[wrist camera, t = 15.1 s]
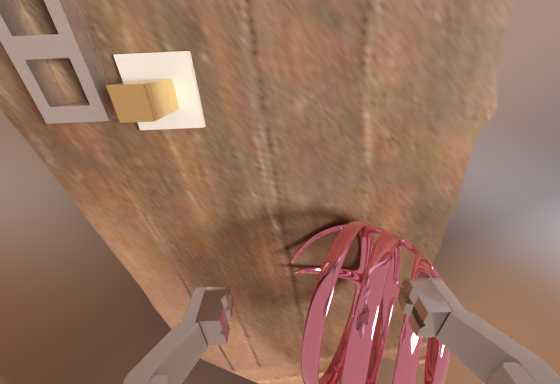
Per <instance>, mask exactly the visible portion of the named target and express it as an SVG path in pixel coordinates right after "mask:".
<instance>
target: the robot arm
mask: <svg viewBox="0 0 560 384" xmlns="http://www.w3.org/2000/svg"><path fill="white" fill-rule="evenodd" d="M402 285H403V287H404V288H402V289H401V290H400V291H399V295H398V298H399V303H400V306H401V308H402V311H403V312H404V313H405V314H406V315H408V316H409V320H408V322H409V324H410V326H411V328H412V330H413V332H414V334H415V336H416V337H436V339H437V340H438V341H440V342H441V343H442V344H443V345H444V346H445V347H446V348H447V349H448V350H449V351H450V352H451V353H452V354H453V355H455V356H456V357H457V358H458V359H459V360H460V361H461V362H462V363H463V364H464V365H465V366H466V367H467V368H469V369H470V370H471V371H472V372H473V373H474V374H475V375H476V376H477V377H478V378H479V379H480V380H481V381H482V382H484V384H560V378H559V376H558V375H557V374H556V373H555V372H554V371H553V370H552V368H551V367H550V366H549V365H548V364H547V363H546V362H545V361H544V360H543V359H542V358H540V357H539V356H537V355H535V354H534V353H532V352H531V351H529V350H528V349H526V348H525V347H523V346H522V345H520V344H519V343H517V342H515V341H514V340H512V339H511V338H509V337H508V336H506V335H505V334H503V333H502V332H500V331H499V330H497V329H496V328H494V327H493V326H491V325H489V324H488V323H487V322H485V321H483V320H482V319H480V318H479V317H477V316H476V315H474V314H473V313H471V312H466V310H465V309H464V308H463V307H462V305H461V304H460V303H459V301H458V300H457V299H456V297H455V296H454V295H453V294H452V292H451V291H450V290H449V288H448V287H447V286H446V285H445V283H444V282H443V280H441V279H440V278H418V279H405V280H404V281H403V283H402ZM229 295H230V289H229V287H196V288H195V290H194V291H193V294H192V297H191V299H190V302H189V305H188V308H187V310H186V313H185V316H184V319H183V321H182V323H178V324H177V325H176V326H175V327H174V328H173V329H172V330H171V331H170V332H169V333H168V334H167V335H166V336H165V337H164V338H163V339H162V340H161V341H160V342H159V343H158V344H157V345H156V346H155V347H154V348H153V349H152V350H151V351H150V352H149V353H148V354H147V355H146V357H144V358H143V360H142V361H140V363H138V364H137V365H136V366H135V367H134V369H132V371H131V372H130V373H129V374H128V375H127V376H126V378H125V381H124V383H123V384H182V382H183V381H184V380H185V378H186V377H187V376H188V374H189V373H190V371H191V370H192V368H193V367H194V365H195V364H196V363H197V361H198V360H199V359H200V357H201V356H202V354H203V353H204V351H205V350H206V349H207V347H208V346H209V345H223V344H227V340H228V335H229V329H230V328H229V324H228V322H229V321H230V320H231V318H232V310H233V301H232V297H231V296H229Z"/></svg>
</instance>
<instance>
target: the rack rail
mask: <svg viewBox="0 0 560 384" xmlns="http://www.w3.org/2000/svg"><path fill="white" fill-rule="evenodd" d="M44 2H45V4H46V6H47V9H48V11H49V13H50V15H51V18H52V20H53V22H54V24H55V27H56V29H57V31H58V33H59V34H51V35H34V34H33V32H32V30H31V28H30V26H29V24H28V22H27V20H26V18H25V16H24V14H23V12H22V10H21V8H20V6H19V4H18V1H17V0H0V41H1V43H2V45H3V46H4V48H5V50H6V52H7V54H8V55H9V57H10V59H11V61H12V63H13V64H14V66H15V68H16V70H17V72H18V73H19V75H20V77H21V79H22V80H23V82H24V84H25V86H26V88H27V89H28V91H29V93H30V95H31V97H32V98H33V100H34V102H35V104H36V106H37V107H38V109H39V111H40V113H41V114H42V116H43V118H44V120H45V122H46V123H47V124H53V123H76V122H98V121H111V120H114V119H116V118H118V116H117V113H116V111H115V108H114V105H113V103H112V100H111V98H110V95H109V92H108V90H107V87H106V85H110V84H109V81H108V79H107V76H106V74H105V71H104V68H103V66H102V63H101V61H100V58H99V55H98V53H97V50H96V48H95V45H94V42H93V40H92V37H91V35H90V32H89V29H88V27H87V24H86V22H85V19H84V16H83V14H82V11H81V9H80V6H79V3H78V1H77V0H44ZM53 59H70V61H71V63H72V65H73V67H74V70H75V72H76V74H77V76H78V79H79V81H80V83H81V85H82V88H83V90H84V92H85V94H86V97H87V99H88V101H89V102H88V103H67V101H66V99H65V97H64V95H63V93H62V91H61V89H60V87H59V85H58V83H57V81H56V79H55V77H54V75H53V73H52V71H51V69H50V67H49V65H48V63H47V61H46V60H53Z"/></svg>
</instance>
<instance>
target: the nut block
mask: <svg viewBox="0 0 560 384" xmlns="http://www.w3.org/2000/svg"><path fill="white" fill-rule="evenodd" d="M106 87H107V90H108V92H109V95H110V98H111V100H112V103H113V105H114V108H115V111H116V113H117V116H118V119H119V121H120V123H127V122H154V121H156V120H158V119H160V118H162V117H165V116H167V115H169V114H171V113H173V112H175V111H177V110H179V105H178V101H177V97H176V92H175V88H174V84H173V80H172V79H156V80H139V81H132V82H125V83H118V84H110V85H106Z"/></svg>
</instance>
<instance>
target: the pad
mask: <svg viewBox="0 0 560 384" xmlns="http://www.w3.org/2000/svg"><path fill="white" fill-rule="evenodd" d="M113 56H114V58H115V61H116V64H117V67H118V70H119V73H120V75H121V78H122V81H123V83H125V82H132V81H139V80H156V79H172V80H173V84H174V88H175V92H176V97H177V101H178V105H179V110H177V111H175V112H173V113H171V114H169V115H167V116H165V117H162V118H160V119H158V120H156V121H154V122H137V123H138V126H139V129H140V130H156V129H179V128H202V127H205V126H206V125H205V120H204V116H203V111H202V106H201V101H200V96H199V91H198V86H197V82H196V77H195V72H194V67H193V62H192V57H191V52H190V51H180V52H159V53H137V54H116V55H113Z"/></svg>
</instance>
